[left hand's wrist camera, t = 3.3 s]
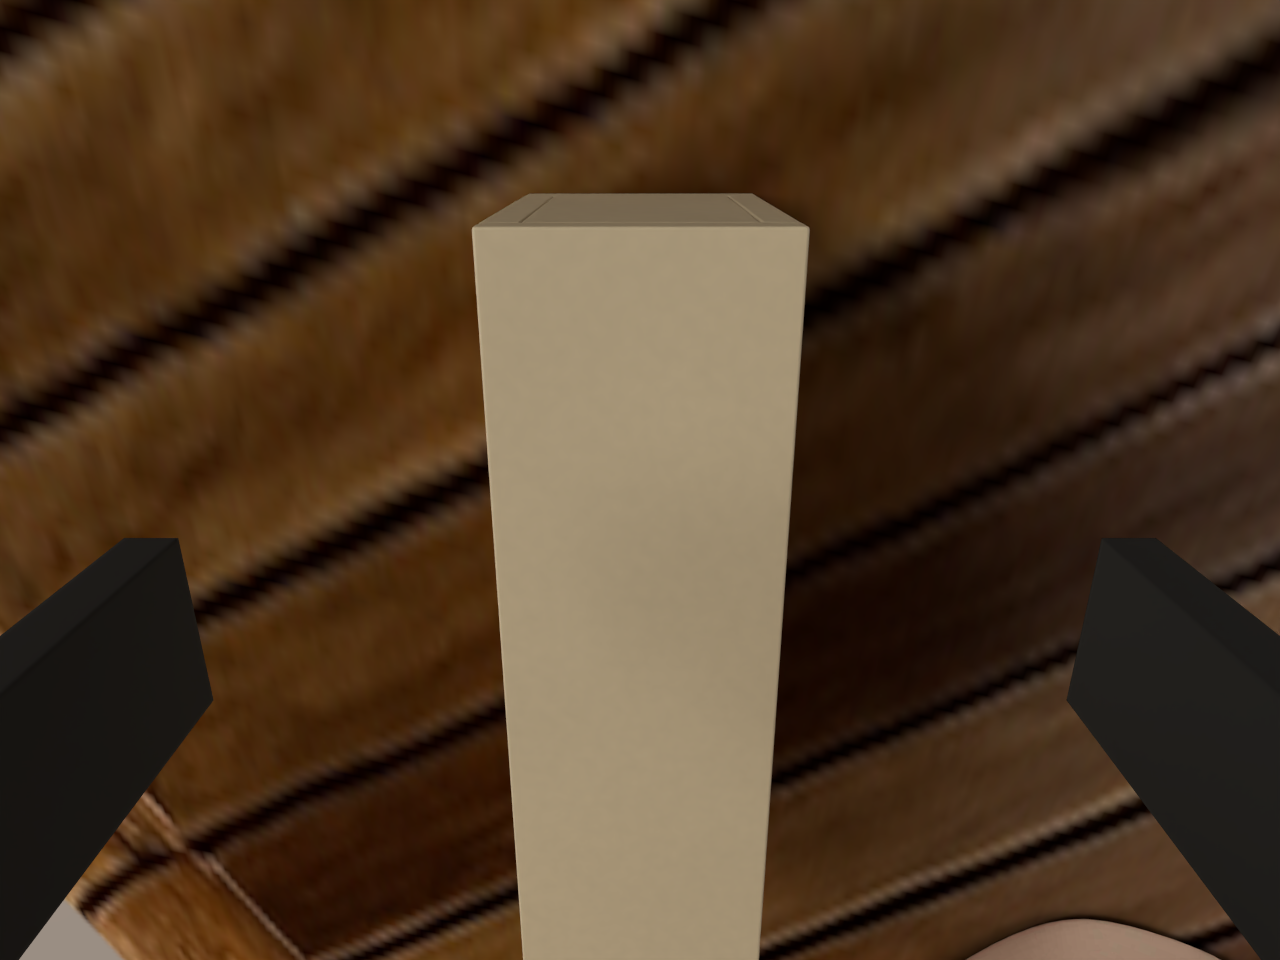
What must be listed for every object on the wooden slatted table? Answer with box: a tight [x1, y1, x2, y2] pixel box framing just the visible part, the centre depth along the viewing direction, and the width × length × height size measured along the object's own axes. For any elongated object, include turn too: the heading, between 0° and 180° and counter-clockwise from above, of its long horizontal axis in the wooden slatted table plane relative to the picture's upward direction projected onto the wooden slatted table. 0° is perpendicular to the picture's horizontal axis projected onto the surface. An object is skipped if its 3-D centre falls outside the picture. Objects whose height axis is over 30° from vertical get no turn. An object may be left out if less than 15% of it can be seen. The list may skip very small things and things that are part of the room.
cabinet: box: [472, 194, 810, 960], centre depth 26 cm, size 22×7×9 cm, turn 0°
